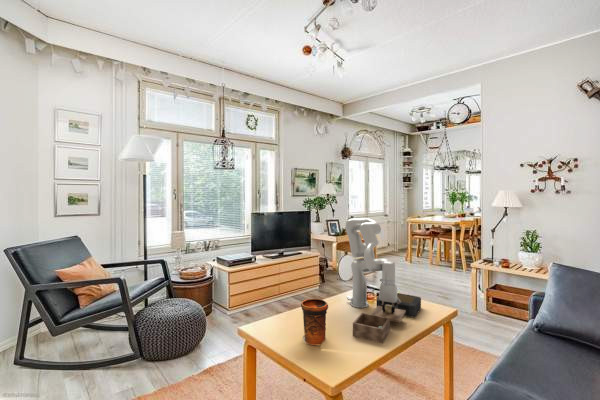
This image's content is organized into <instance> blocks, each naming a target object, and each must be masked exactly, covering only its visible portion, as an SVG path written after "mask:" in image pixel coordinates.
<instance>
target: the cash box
mask: <svg viewBox="0 0 600 400" xmlns="http://www.w3.org/2000/svg"><path fill="white" fill-rule="evenodd" d="M397 295H398V298H399V299H400V301H401V303H399V304H397V305H396V306H395V309H401V310H406V313H405V315H407V316H406V317H410V316H412V317H411V318H415V317H416V316H417V315H418V313H419V312H420V311H421V309H422V297H421V296H418V295H417V296H416V295H410V294H406V293H400V292H397ZM396 302H398V301H396ZM396 302H395V303H396ZM385 305H392V303H391V302H385ZM377 306H382V304H381V303H380V302H379V301H378V300H377V299H376V307H377ZM420 308H421V309H420ZM418 311H419V312H418ZM405 315H404V316H405Z"/></svg>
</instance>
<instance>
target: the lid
mask: <svg viewBox="0 0 600 400" xmlns="http://www.w3.org/2000/svg"><path fill="white" fill-rule="evenodd" d="M405 313H406V310H401V309H395V312H394V313H393V314H392V305H385V312H383V310H382V306H377V305H376V308H374V310H373V311H372V312H371V315H376V316H381V317H386V318H390V322H395V323H401V322H402V320H403V318H404V317H405Z"/></svg>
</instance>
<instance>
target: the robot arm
mask: <svg viewBox="0 0 600 400" xmlns="http://www.w3.org/2000/svg"><path fill="white" fill-rule="evenodd" d="M345 231H346V232H345V233H346V234H347V237H348V243H349V247H350V252H351V253H350V254H351V256H352V257H354V258H358V259H354V260H352V262H351V264H350V267H351V273H352V296H349V295H348V296H346V299H347V301H350V306H352V307H354V308H358V309H362V308H363V309H364V308H367V307H369V305H370V304H369V302H368V301H367V299H368V298H367V296H368V295H367V290H368V289H367V287H368V285H367V284H368V283H367V281H368V280H367V278H366V276H365V274H367V273H372V272H381V278H379V282H381V283H380V285H379V292H378V295H377V297H376V301H377V300H378V301H379V302H380V303H381V304H382V310H383V312H385V302H391V303H392V314H393V313H394V312H395V306H396V305H397V304H399V303H401V301H400V299H399V298H398V295H397V293H398V288H397V284H396V264H395V261H393V260H389V259H388V258H386V257H384V258H383V257H382V258H380V257H379V258H375V257H376V256H375V251H374V248H375V247H377V246H379V239H378V237H377V235H379V234H380V233H381V231H382V228H381V225H380V223H379V222H377V221H376V220H374V219H371V218H368V217H355V218H354V217H352V218H350V219H347V220H346V222H345ZM358 231H359V232H360V233H359V232H358ZM360 234H361V235H360ZM361 236H362V237H361ZM362 239H363V241H364V242H363V241H362ZM396 301H398V302H396ZM395 302H396V303H395Z"/></svg>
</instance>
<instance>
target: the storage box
mask: <svg viewBox="0 0 600 400" xmlns="http://www.w3.org/2000/svg"><path fill="white" fill-rule="evenodd" d="M379 326H382V328H378V327H379ZM390 332H391V321H390V318H386V317H381V316H376V315H371V314H369V313H366V312H362V313H360V314H359V316H358V317H357V318H356V319H355V320H354V321H353V322H352V336H353V337H355V338H360V339H363V340H364V339H365V340H367V341H372V342H376V343H380V344H384V342H385V340H386V338H388V337H387V336H388V335H389V333H390Z"/></svg>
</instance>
